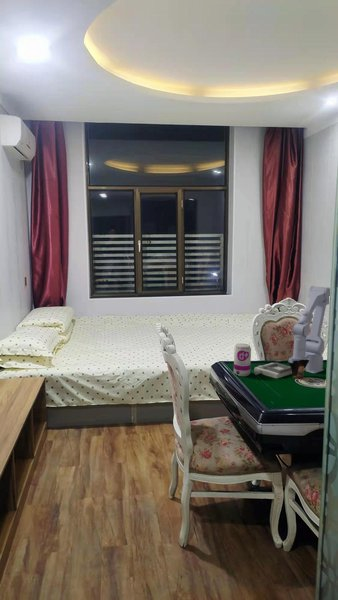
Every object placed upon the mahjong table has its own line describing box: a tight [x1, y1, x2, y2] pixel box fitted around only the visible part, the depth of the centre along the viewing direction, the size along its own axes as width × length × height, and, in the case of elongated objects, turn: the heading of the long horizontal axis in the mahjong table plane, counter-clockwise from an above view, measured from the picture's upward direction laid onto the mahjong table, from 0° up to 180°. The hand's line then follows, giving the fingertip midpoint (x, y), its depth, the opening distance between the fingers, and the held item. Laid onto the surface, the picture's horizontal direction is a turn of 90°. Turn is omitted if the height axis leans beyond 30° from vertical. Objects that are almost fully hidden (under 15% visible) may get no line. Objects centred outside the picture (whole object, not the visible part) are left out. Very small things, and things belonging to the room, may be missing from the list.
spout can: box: [292, 364, 307, 380], centre depth 210 cm, size 5×7×6 cm
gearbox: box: [253, 362, 293, 379], centre depth 216 cm, size 19×14×4 cm
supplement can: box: [233, 343, 252, 377], centre depth 213 cm, size 8×8×15 cm
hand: (298, 374), depth 210 cm, fingers closed on spout can, 5 cm apart
